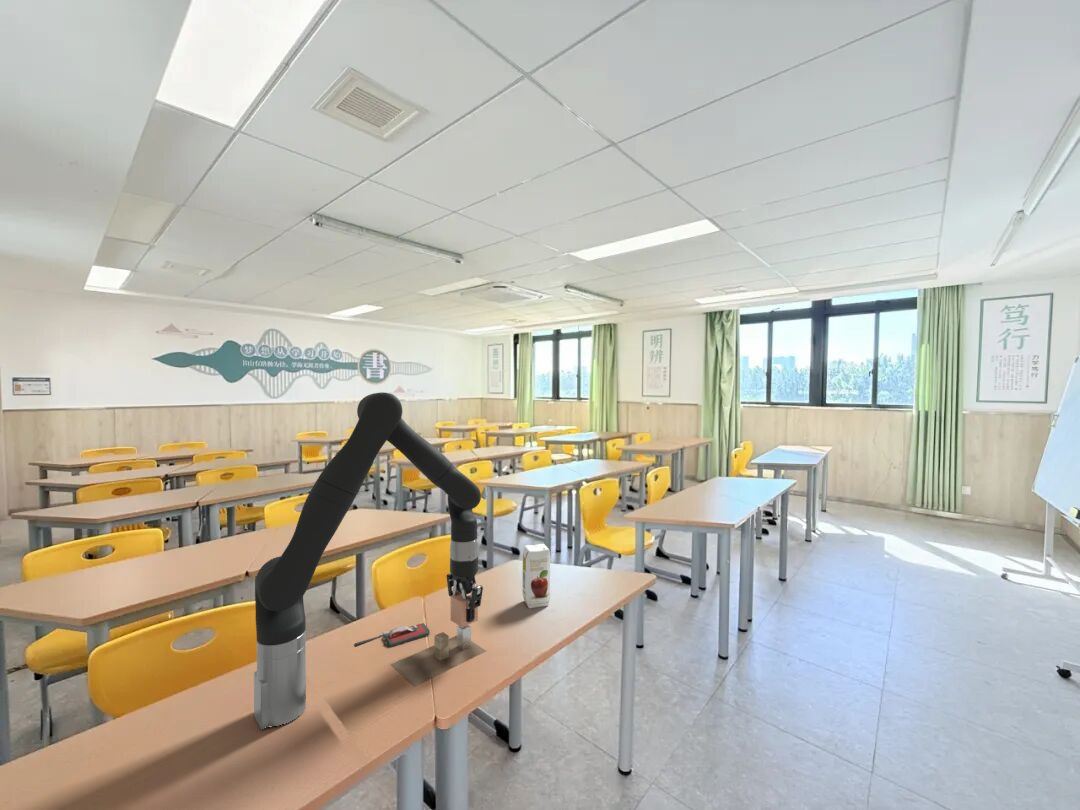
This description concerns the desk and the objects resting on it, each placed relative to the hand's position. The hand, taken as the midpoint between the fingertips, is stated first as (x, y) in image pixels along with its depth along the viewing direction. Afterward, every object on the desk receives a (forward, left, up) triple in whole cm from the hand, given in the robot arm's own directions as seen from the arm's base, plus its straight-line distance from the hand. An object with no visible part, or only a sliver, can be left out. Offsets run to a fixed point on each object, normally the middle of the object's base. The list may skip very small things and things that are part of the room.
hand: (464, 617), depth 121 cm
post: (0, 0, -8) cm, 8 cm away
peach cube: (0, 0, -1) cm, 1 cm away
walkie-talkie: (-12, +17, -10) cm, 23 cm away
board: (-8, 0, -9) cm, 12 cm away
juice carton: (+34, +7, -10) cm, 36 cm away
